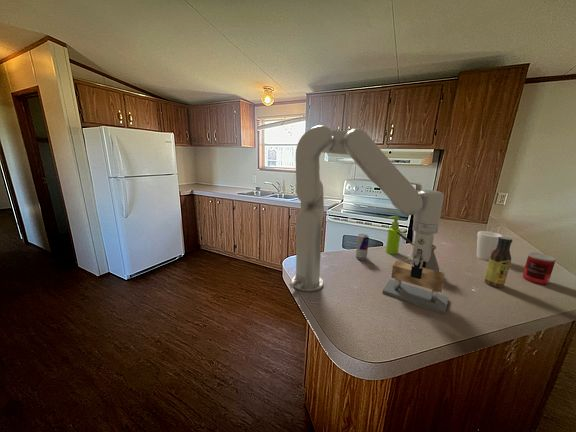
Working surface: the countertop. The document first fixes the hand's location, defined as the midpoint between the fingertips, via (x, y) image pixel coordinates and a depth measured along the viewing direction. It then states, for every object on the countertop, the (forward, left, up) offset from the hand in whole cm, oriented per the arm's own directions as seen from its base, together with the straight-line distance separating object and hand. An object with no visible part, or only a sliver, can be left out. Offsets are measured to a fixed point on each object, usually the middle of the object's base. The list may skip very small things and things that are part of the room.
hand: (418, 272), depth 84 cm
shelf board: (0, 0, -4) cm, 4 cm away
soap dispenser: (+38, +18, -10) cm, 43 cm away
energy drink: (+21, +28, -10) cm, 36 cm away
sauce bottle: (+30, -24, -10) cm, 40 cm away
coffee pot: (+25, +5, -10) cm, 27 cm away
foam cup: (+61, -22, -10) cm, 66 cm away
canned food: (+45, -38, -10) cm, 60 cm away
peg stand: (0, 0, -10) cm, 10 cm away
